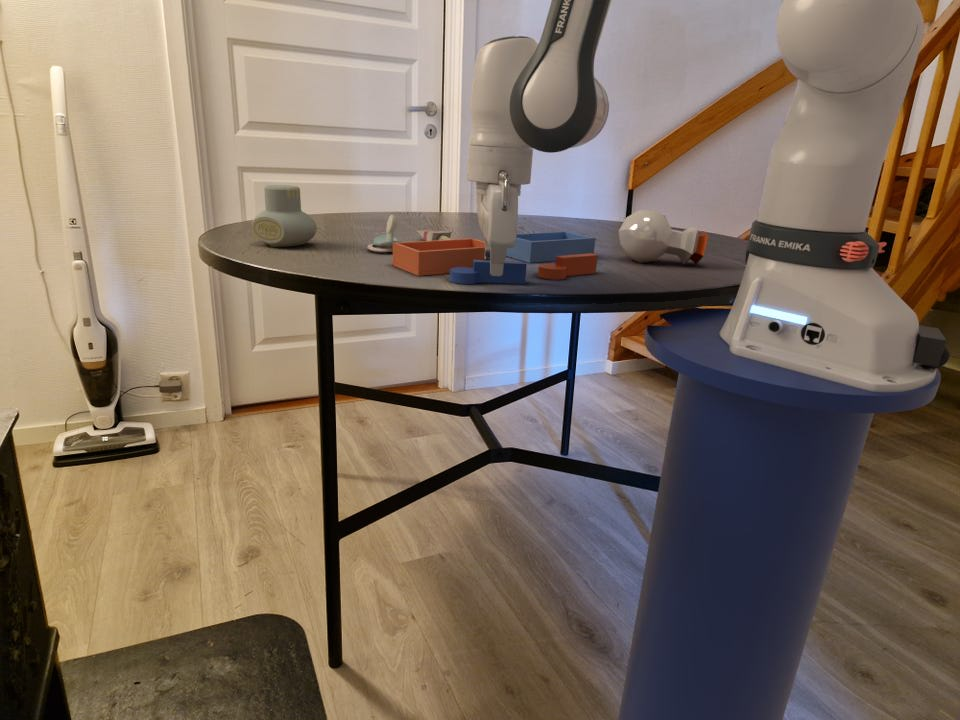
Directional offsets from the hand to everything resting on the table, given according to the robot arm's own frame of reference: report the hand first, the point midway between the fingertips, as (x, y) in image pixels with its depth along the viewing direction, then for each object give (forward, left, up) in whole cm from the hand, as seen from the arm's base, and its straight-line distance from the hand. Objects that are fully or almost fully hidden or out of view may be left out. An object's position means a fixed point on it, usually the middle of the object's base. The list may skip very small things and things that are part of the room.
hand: (493, 268), depth 90 cm
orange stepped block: (-1, -14, -2) cm, 14 cm away
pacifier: (+27, +4, -2) cm, 28 cm away
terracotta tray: (+11, +1, -2) cm, 11 cm away
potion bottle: (+1, -38, -2) cm, 38 cm away
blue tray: (+13, -22, -2) cm, 26 cm away
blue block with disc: (0, +1, -2) cm, 2 cm away
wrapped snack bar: (+27, -8, -2) cm, 29 cm away
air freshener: (+38, +18, -2) cm, 42 cm away
